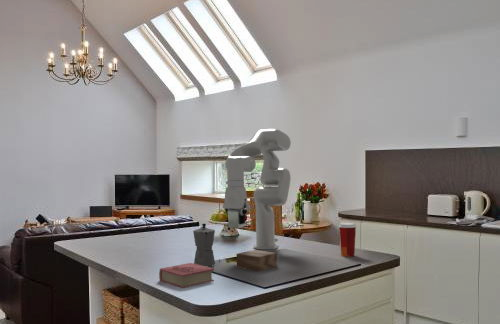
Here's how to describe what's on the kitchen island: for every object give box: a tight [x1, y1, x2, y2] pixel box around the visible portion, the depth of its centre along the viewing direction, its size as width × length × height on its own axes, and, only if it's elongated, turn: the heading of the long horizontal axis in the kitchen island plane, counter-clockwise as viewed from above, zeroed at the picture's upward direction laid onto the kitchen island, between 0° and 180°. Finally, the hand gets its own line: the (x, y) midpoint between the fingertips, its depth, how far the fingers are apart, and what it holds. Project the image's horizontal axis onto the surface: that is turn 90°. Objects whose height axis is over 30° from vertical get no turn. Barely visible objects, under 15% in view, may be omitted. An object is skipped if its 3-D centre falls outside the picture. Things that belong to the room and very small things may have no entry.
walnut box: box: [236, 249, 278, 272], centre depth 197 cm, size 12×12×6 cm
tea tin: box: [227, 209, 246, 229], centre depth 213 cm, size 5×5×8 cm
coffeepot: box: [193, 223, 216, 267], centre depth 202 cm, size 15×9×18 cm, turn 13°
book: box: [158, 262, 215, 289], centre depth 174 cm, size 14×15×5 cm
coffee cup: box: [337, 222, 357, 258], centre depth 219 cm, size 8×8×15 cm
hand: (236, 223), depth 213 cm, fingers closed on tea tin, 5 cm apart
